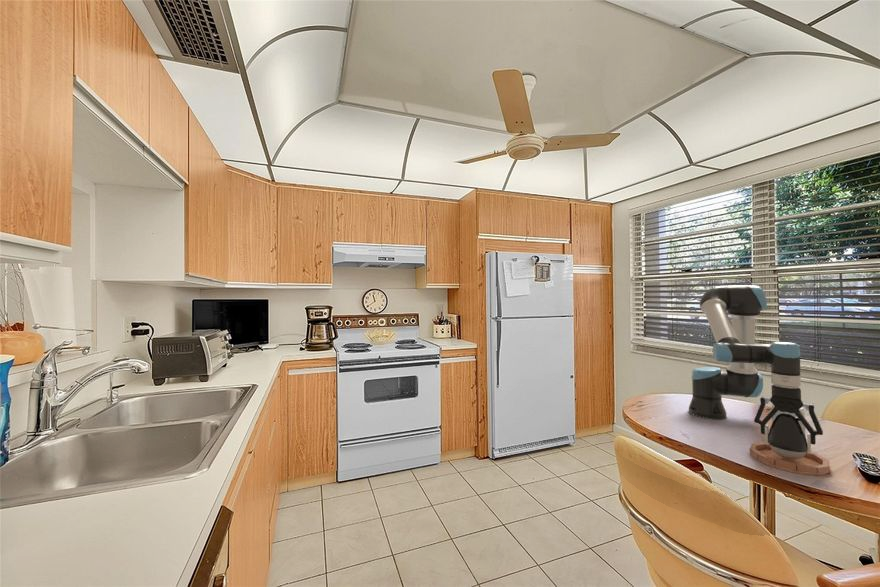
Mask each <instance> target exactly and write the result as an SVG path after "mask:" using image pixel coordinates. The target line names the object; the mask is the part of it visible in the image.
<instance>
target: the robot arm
mask: <svg viewBox="0 0 880 587" xmlns="http://www.w3.org/2000/svg"><path fill="white" fill-rule="evenodd" d="M767 305H768V302H767V297H766V292H765V291H764V290H763V288H762V287H761V286H758V285H752V284H751V285H748V284H747V285H746V284H744V285H741V284H740V285H719V286H714V287H712V288H710V289H708V290H706V292H704V294H703V295H702V296H701V298H700V300H699V307H700V310H701V312H702V313H703V314H704V315H705V316H706V319H707V322H708V324H709V327H710V330H711V333H712V334H713V338H714V340H715V343H713V345H712V354H713V358H714V360H715V361H717V362H724V363H729V365H726V369H725V370H722V369H721V368H720V367H717V366H702V367H701V366H700V367H696V368H693V370H692V372H691V379H692V380H691V382H692V384H691V386H692V387H691V388H692V397H691V401H690V403H689V405H688V412H690V413H689V414H691V413H692V414H691V415H693V414H694V415H693V416H695V415H697V417H699V416H700V417H699V418H703V417H704V419H711V420H724V419H727V410H726V408H725V406H724V403H723V400H722V396H732V397H743V398H758V397H760V395H761V394H762V393H763V389H764V378H763V376H762V374H761V373H759V370H758V369H757V368H756V367H755V365H756V364H758V365H770V371H771V372H770V373H771V379H770V380H771V384H772V385H771V397H765V396H761V397H760V398H759V400H760V405H759V406H758V407H759V408H758V410H757V412H756V415H755V417H754V419H753V422H754V423H755V424H759V425H760V434H761V435H764V443H765V444H766V445H768V435H769V424H767V423H768V422H769V421H770V420H772V417H773V416H774V414H775V413H776V412H777V411H778V410H779V411H781V412H788V413H795V415H796V416H797V417H798V418H799V420H800V421H801V422H802V424H803V425H804V426H805V430H807V431H808V432H807V434H806V437H807V438H806V440H807V446H808V454H811V452H812V445H816V443H817V442H816V441H817V440H816V436H823V434H824V430H823V428H822V427H821V424H820V421H819V419H818V417H817V415H816V412H815V405H814V403H804V402H803V400H802V389H801V386H802V383H801V381H802V380H801V378H802V376H801V355H802V354H801V350H800V345H799V344H798V343H796V342H787V341H786V342H785V341H774V342H771V343H763V344H761V343H759V344H758V343H756V321H757V320H756V318H758V317H759V316H761V311H762V312H763V311H765V310H767V307H768V306H767ZM729 316H730V317H731V319H730V317H729ZM769 402H770V403H771V405H772V404H773V405H774V406H775V407H774V408H773V409H772V410H770V411H769V412H768V413H767V415H766V416H765V417H764V418H763V419H762V420H761V416H762V414H763V411H764V409H765V407H766V405H767V404H769ZM801 407H803V408H805V410H806V411H808V414H809V417H810V418H811V420H812V423H813V425H814V427H815V429H814V428H813V427H812V425H811V424H810V423H809V422H808V420H807V419H806V417H805V418H804V416H803V415H802V413H801V412H800V411H799V409H800V408H801Z"/></svg>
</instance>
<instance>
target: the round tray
mask: <svg viewBox="0 0 880 587" xmlns="http://www.w3.org/2000/svg"><path fill="white" fill-rule="evenodd" d="M749 453H750V456H751V457H752V458H754V459H755V460H756V461H758V462H760V463H762V464H764V465H766V464H767V465H766V466H770V467H772V468H774V469H779V470H781V471H785V472H790V473H794V474H799V475H800V474H801V475H806V474H807V476H824V474H825V475H828V474H830V472H831V471H830V468H831V467H830V464H831V463H830V460H828V459H826V458H824V457H823V456H822V455H820V454H817V453H815V452H812V451H811V454H808V451H807V452H806V454H805V456H804V457H802V458H800V459H789V458H785V457H782V456H780V455H778V454H776V453H775V452H774V451H773V450H772V449H771V447H770V444H769V443H768V445H766V444H765V441H764V442H755V443H754V442H753V443H751V444H750V446H749ZM829 471H830V472H829ZM827 473H828V474H827Z"/></svg>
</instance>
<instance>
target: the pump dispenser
mask: <svg viewBox="0 0 880 587" xmlns="http://www.w3.org/2000/svg"><path fill="white" fill-rule="evenodd" d="M799 421H800V420H799V418H798V417H796V418H795V417H794V416H793V415H791V414H788V413H781V414H778V415H777V416H776V417H775V419H774V420H773V422H772V421H771V425H770V427H769V429H768V432H769V435H768V443H769V444H770V447H771V449H772V450H773V451H774V452H775V453H776V454H778V455H780V456H782V457H785V458H789V459H800V458H802V457H804V456H805V454H806V452H807V451H808V446H807V438H806V437H807V435H806V436H805V434H804V431H803V429H802V427H801V425H800V423H799Z"/></svg>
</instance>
